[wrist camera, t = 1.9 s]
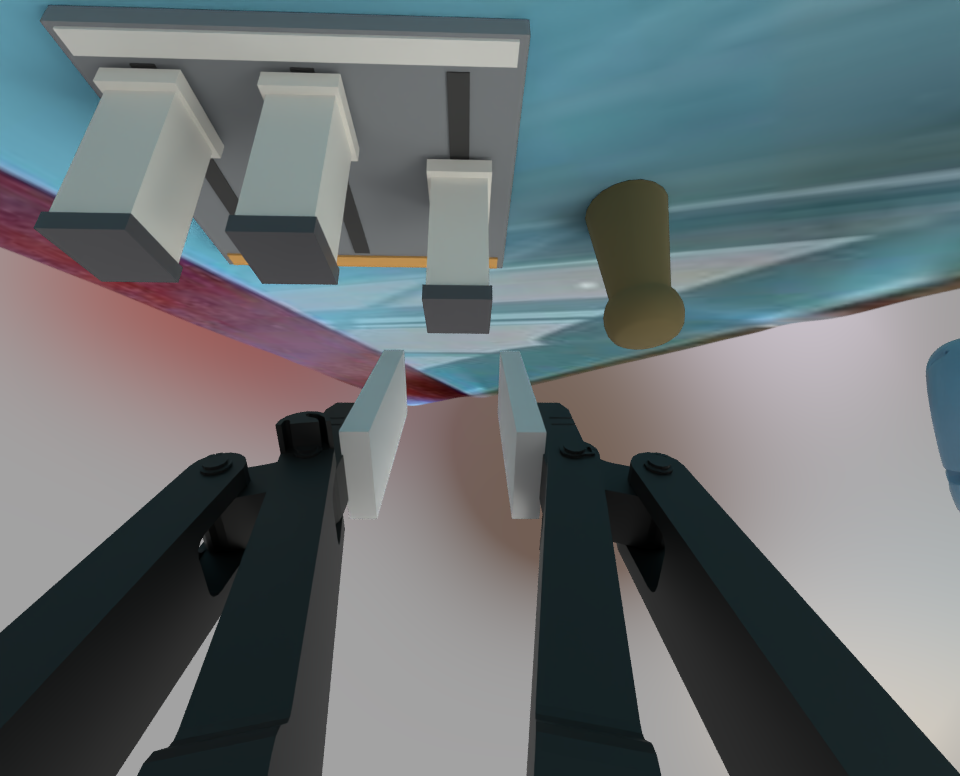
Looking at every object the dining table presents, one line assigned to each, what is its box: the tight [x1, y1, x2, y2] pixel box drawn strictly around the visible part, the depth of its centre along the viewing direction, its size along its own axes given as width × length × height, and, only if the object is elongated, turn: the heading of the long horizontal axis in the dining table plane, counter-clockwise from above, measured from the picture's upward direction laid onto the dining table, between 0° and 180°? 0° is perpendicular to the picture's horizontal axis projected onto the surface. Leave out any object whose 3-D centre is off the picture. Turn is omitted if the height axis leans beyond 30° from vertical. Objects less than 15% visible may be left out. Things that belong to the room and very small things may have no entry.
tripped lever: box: [422, 159, 492, 334], centre depth 28 cm, size 4×4×10 cm
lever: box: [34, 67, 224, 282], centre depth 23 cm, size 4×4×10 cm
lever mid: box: [225, 72, 359, 285], centre depth 23 cm, size 4×4×10 cm
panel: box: [40, 5, 530, 268], centre depth 30 cm, size 18×23×1 cm
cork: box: [585, 179, 685, 349], centre depth 32 cm, size 6×6×11 cm
